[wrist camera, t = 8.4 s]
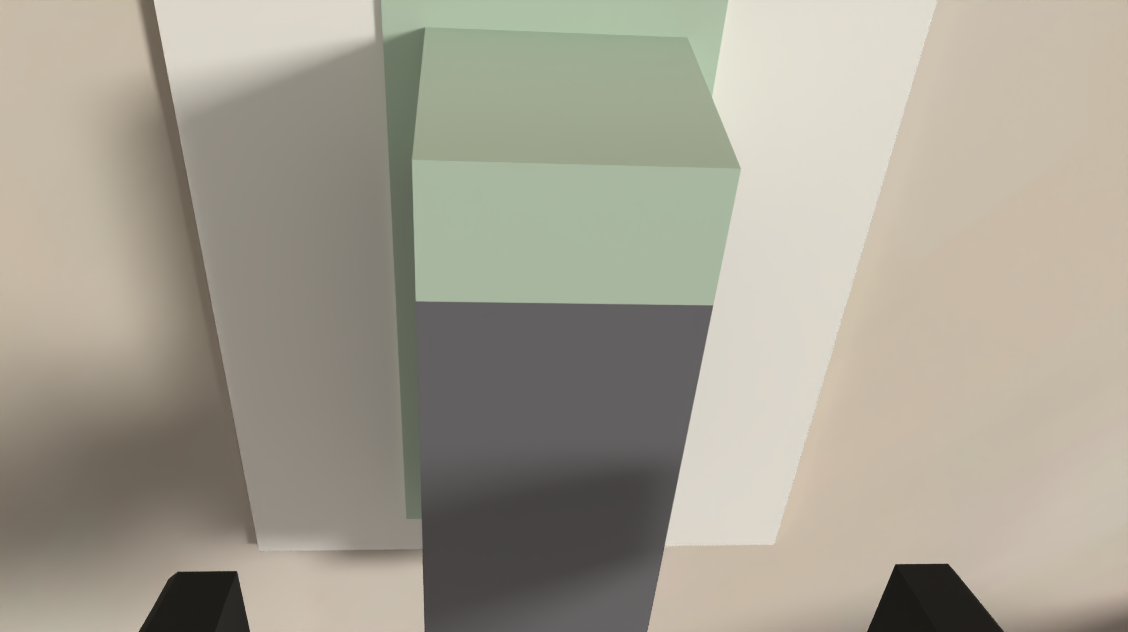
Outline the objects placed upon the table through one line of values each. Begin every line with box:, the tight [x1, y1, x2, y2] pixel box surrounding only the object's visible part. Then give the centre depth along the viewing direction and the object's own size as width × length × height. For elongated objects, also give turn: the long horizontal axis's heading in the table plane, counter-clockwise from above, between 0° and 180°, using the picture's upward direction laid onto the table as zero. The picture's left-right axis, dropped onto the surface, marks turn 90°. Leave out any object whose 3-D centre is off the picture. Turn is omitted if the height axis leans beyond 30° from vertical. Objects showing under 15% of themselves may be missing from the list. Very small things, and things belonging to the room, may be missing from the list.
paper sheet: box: [154, 0, 937, 551], centre depth 16 cm, size 12×10×1 cm
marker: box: [412, 27, 741, 632], centre depth 15 cm, size 10×3×3 cm, turn 176°
